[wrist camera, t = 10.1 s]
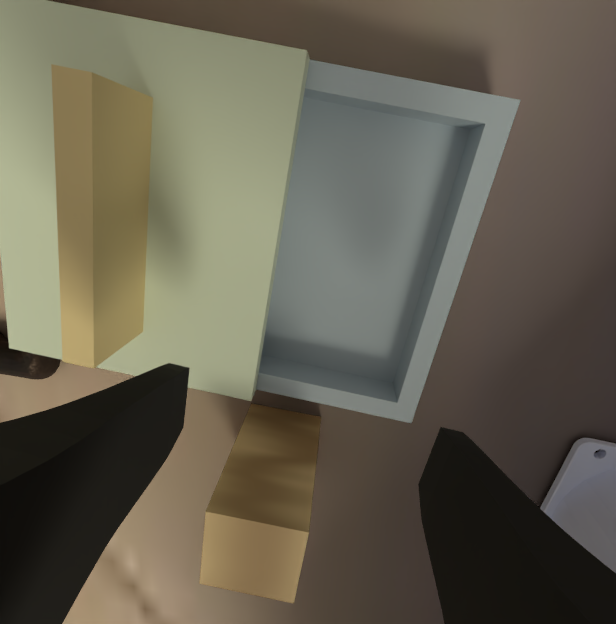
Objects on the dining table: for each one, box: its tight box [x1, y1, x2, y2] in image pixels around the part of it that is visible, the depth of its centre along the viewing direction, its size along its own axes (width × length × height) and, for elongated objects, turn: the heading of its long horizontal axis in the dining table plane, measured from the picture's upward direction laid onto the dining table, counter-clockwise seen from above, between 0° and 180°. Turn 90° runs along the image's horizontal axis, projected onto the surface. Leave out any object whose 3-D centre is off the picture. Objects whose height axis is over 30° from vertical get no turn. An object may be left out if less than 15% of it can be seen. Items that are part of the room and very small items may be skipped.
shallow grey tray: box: [256, 60, 520, 423], centre depth 15 cm, size 10×12×2 cm
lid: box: [0, 0, 310, 401], centre depth 12 cm, size 10×12×4 cm
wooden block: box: [199, 403, 321, 603], centre depth 16 cm, size 4×4×6 cm
